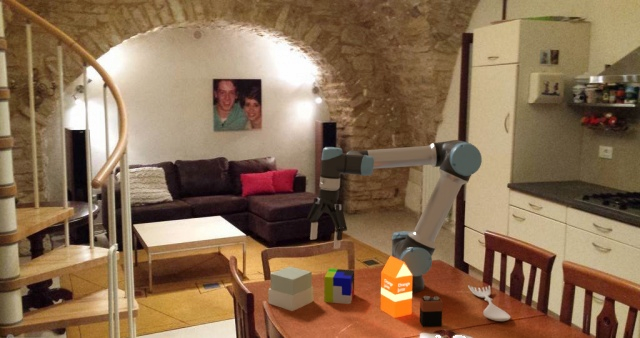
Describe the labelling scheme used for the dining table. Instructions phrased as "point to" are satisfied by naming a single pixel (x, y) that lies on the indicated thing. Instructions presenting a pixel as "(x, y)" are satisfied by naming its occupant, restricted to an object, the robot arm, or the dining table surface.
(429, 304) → the battery
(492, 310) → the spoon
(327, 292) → the puzzle toy
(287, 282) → the tower top
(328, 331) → the dining table surface
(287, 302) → the tower base
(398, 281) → the orange juice
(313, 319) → the dining table surface
